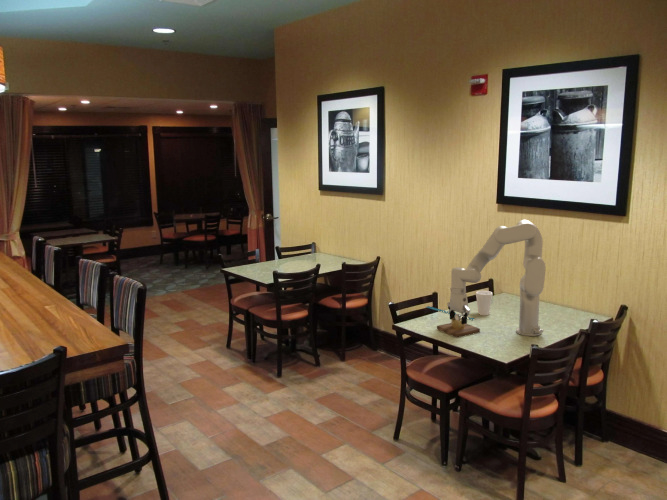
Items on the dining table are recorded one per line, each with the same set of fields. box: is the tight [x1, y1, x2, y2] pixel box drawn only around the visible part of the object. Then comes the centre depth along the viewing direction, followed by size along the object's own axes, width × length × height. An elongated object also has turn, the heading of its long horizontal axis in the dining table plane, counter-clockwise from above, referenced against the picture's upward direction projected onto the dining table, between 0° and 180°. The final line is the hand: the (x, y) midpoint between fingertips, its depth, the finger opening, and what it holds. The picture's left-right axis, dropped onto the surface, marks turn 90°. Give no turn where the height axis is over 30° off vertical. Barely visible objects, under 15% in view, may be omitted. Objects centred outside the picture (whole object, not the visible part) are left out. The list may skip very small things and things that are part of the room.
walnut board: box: [436, 322, 481, 338], centre depth 291 cm, size 16×16×2 cm
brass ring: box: [450, 318, 465, 329], centre depth 290 cm, size 7×7×4 cm
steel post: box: [455, 313, 462, 321], centre depth 290 cm, size 3×3×7 cm
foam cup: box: [475, 290, 494, 316], centre depth 318 cm, size 10×9×13 cm
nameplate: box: [425, 305, 475, 321], centre depth 323 cm, size 37×1×5 cm
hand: (458, 321), depth 290 cm, fingers open, 9 cm apart
